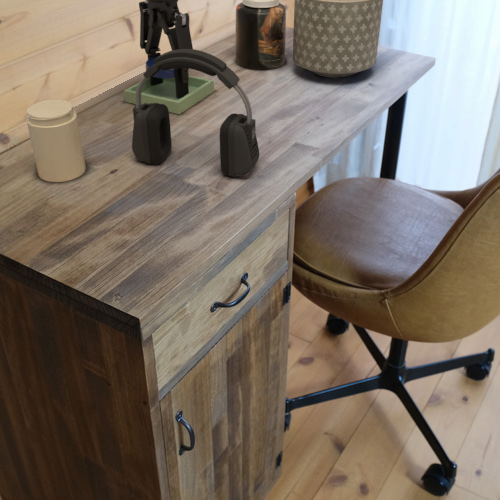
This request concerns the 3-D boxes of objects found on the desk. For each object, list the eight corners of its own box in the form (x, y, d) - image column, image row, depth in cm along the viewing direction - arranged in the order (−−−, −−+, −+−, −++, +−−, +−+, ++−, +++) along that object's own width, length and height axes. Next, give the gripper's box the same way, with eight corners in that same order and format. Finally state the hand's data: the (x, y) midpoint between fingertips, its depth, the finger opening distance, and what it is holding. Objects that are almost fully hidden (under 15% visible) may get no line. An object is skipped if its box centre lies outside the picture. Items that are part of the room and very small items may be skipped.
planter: (309, 53, 160) (313, -25, 149) (384, 64, 153) (394, -17, 143) (279, 79, 146) (281, -5, 135) (360, 92, 139) (369, 5, 129)
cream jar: (28, 175, 110) (13, 112, 103) (60, 156, 116) (48, 95, 109) (64, 186, 107) (51, 122, 100) (95, 166, 113) (85, 104, 106)
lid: (196, 71, 134) (196, 63, 133) (162, 81, 130) (161, 73, 128) (172, 60, 139) (171, 52, 138) (138, 70, 135) (137, 61, 134)
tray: (125, 101, 136) (123, 90, 134) (162, 80, 145) (161, 69, 144) (179, 114, 130) (178, 102, 129) (214, 91, 140) (213, 80, 139)
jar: (230, 68, 152) (229, 1, 143) (242, 51, 161) (241, -12, 152) (280, 71, 149) (281, 4, 141) (288, 55, 159) (290, -9, 150)
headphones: (130, 163, 114) (116, 50, 102) (145, 147, 119) (134, 38, 107) (250, 182, 108) (250, 65, 96) (261, 164, 113) (262, 51, 101)
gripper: (114, -30, 128) (126, 80, 141) (178, -9, 115) (185, 110, 129) (145, -36, 132) (155, 72, 146) (211, -16, 119) (214, 100, 133)
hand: (169, 90), depth 137 cm, fingers closed on lid, 9 cm apart
